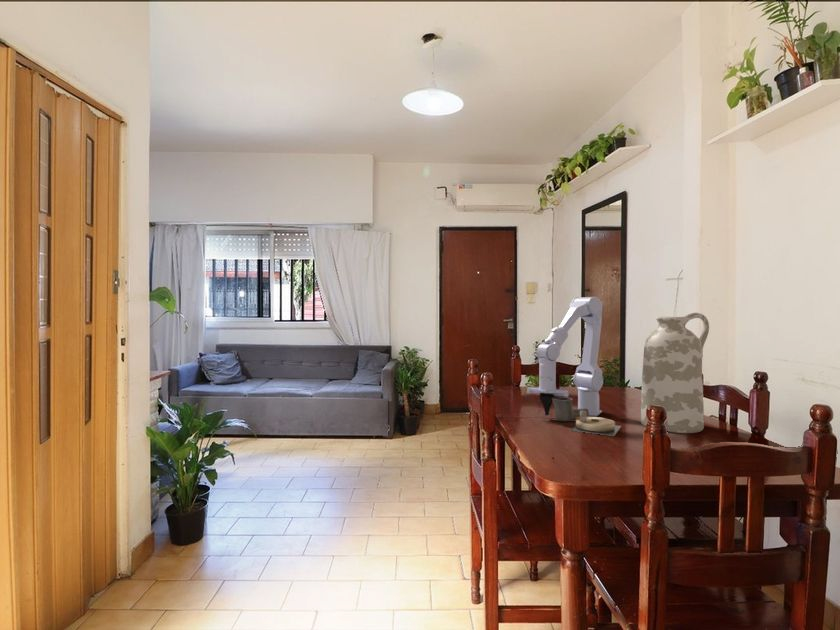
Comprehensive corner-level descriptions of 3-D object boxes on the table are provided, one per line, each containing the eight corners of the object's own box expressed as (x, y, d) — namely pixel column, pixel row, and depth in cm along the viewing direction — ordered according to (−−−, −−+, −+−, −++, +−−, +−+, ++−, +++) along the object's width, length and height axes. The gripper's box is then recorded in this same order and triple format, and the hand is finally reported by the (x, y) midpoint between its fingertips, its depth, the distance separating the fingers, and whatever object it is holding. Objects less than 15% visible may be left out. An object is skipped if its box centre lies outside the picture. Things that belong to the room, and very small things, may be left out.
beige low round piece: (568, 425, 156) (568, 409, 156) (590, 420, 163) (590, 405, 162) (600, 433, 146) (600, 415, 146) (622, 427, 153) (622, 411, 153)
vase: (644, 431, 151) (644, 312, 151) (637, 418, 169) (637, 312, 168) (716, 436, 145) (717, 312, 144) (701, 422, 162) (702, 312, 162)
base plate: (581, 422, 163) (581, 421, 163) (621, 426, 156) (621, 426, 156) (571, 430, 151) (571, 430, 151) (614, 436, 145) (614, 435, 145)
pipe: (590, 422, 163) (591, 399, 163) (554, 423, 162) (555, 400, 162) (583, 417, 169) (583, 396, 169) (548, 418, 168) (549, 396, 168)
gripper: (524, 376, 168) (523, 414, 168) (564, 379, 161) (564, 419, 161) (530, 374, 174) (530, 411, 174) (570, 377, 167) (570, 415, 167)
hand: (547, 414), depth 168 cm, fingers closed
